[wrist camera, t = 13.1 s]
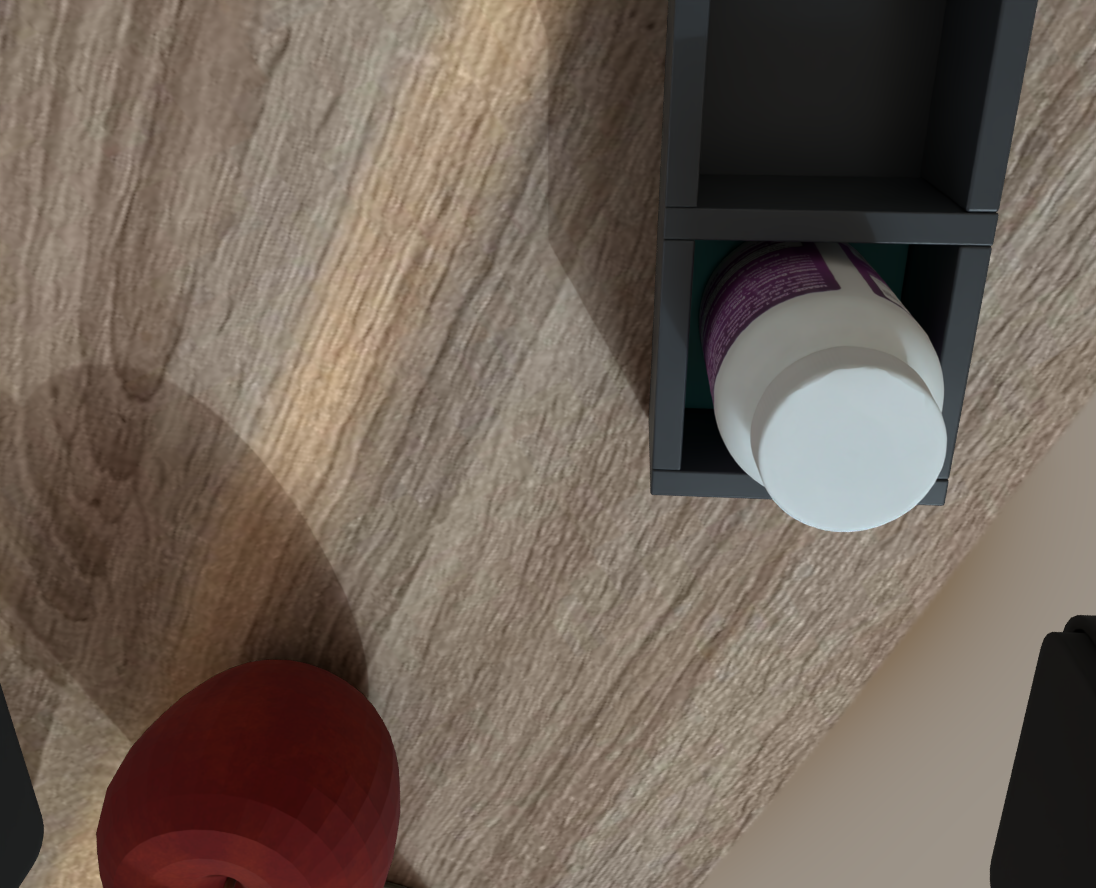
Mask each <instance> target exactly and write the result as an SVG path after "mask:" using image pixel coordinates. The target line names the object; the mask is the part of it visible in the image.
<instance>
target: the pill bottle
mask: <svg viewBox="0 0 1096 888" xmlns="http://www.w3.org/2000/svg"><path fill="white" fill-rule="evenodd" d="M699 333H700V340H701V346H702V351H703V356H704V360H705V365H706V370H707V375H708V380H709V385H710V392H711V396H712V400H713V406H714V413H715V418H716V422H717V426H718V429H719V432H720V434H721V437H722V439H723V441H724V443H725V445H726V447H727V449H728V451H729V452H730V454H731V455H732V457H733V458H734V460H735V461H736V462H737V464H738V465H739V466H740V467H741V468H742V469H743V470H744V471H745V472H746V473H747V474H748V475H749V476H750V477H752V478H753V479H754V480H755V481H757V482H758V483H759V484H761V485H762V486H764V487H765V488H766V490H767V492H768V493H769V495H770V496H771V498H772V499H773V500H774V501H775V502H776V504H777V505H778V506H779V507H780V508H781V509H782V510H783V511H785V512H786V513H787V514H788V515H790V516H791V517H793V518H794V519H796V520H798V521H800V522H802V523H804V524H807V525H809V526H812V527H815V528H818V529H823V530H826V531H835V532H853V531H862V530H867V529H871V528H874V527H877V526H881V525H883V524H886V523H888V522H890V521H892V520H895V519H897V518H898V517H900V516H902V515H903V514H905V513H906V512H908V511H909V510H911V509H912V508H913V507H914V506H915V505H917V504H918V503H919V502H920V501H921V500H922V499H923V498H924V496H925V495H926V494H927V493H928V492H929V490H930V489H931V487H932V486H933V485H934V483H935V481H936V479H937V477H938V475H939V473H940V471H941V469H942V467H943V464H944V460H945V456H946V448H947V434H946V427H945V423H944V419H943V416H942V408H943V399H944V382H943V374H942V369H941V365H940V362H939V359H938V356H937V354H936V351H935V349H934V347H933V345H932V343H931V341H930V339H929V337H928V335H927V334H926V332H925V331H924V330H923V329H922V327H921V326H920V325H919V324H918V323H917V322H916V320H915V319H914V318H913V317H912V315H911V314H910V313H909V312H908V310H907V309H906V308H905V307H904V305H903V304H902V303H901V302H900V300H899V299H898V298H897V297H896V295H895V294H894V293H893V291H892V290H891V289H890V288H889V286H888V285H887V284H886V282H885V281H884V280H883V279H882V278H881V277H880V276H879V274H878V273H877V272H876V271H875V270H874V269H873V267H872V266H871V265H870V264H869V263H868V262H867V261H866V260H865V258H864V257H863V256H862V255H861V254H860V253H859V252H858V251H857V250H856V249H855V248H853V247H852V246H851V245H850V244H848V243H830V242H780V241H746V242H744V243H743V244H741V245H740V246H739V247H737V248H736V249H735V250H733V251H732V252H731V253H730V254H729V255H728V256H727V257H726V258H724V259H723V261H722V262H721V263H720V264H719V265H718V267H717V268H716V269H715V270H714V272H713V273H712V275H711V277H710V279H709V281H708V283H707V285H706V287H705V290H704V293H703V296H702V300H701V304H700V311H699Z"/></svg>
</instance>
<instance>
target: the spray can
mask: <svg viewBox="0 0 1096 888" xmlns="http://www.w3.org/2000/svg"><path fill="white" fill-rule="evenodd" d="M383 888H406V887H403V886H400V885H396V884H393V883H389V882H385V884H384V887H383Z"/></svg>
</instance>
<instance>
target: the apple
mask: <svg viewBox="0 0 1096 888" xmlns="http://www.w3.org/2000/svg"><path fill="white" fill-rule="evenodd" d="M399 817H400V782H399V767H398V762H397V757H396V752H395V749H394V746H393V743H392V739H391V736H390V733H389V731H388V730H387V728H386V726H385V724H384V722H383V720H382V719H381V717H380V715H379V714H378V712H377V711H376V709H375V707H374V706H373V705H372V704H371V703H370V702H369V701H368V700H367V699H366V697H365V696H364V695H363V694H362V693H361V692H360V691H358V690H357V689H356V688H354V687H353V686H352V685H350V684H349V683H348V682H347V681H345V680H343V679H341V678H340V677H338V676H336V675H334V674H332V673H330V672H329V671H327V670H324V669H321V668H319V667H316V666H313V665H311V664H307V663H302V662H297V661H292V660H261V661H254V662H247V663H245V664H242V665H239V666H236V667H233V668H230V669H228V670H226V671H224V672H221V673H219V674H217V675H215V676H213V677H212V678H210V679H208V680H207V681H205V682H204V683H202V684H200V685H199V686H197V687H196V688H194V689H193V690H191V691H190V692H189V693H187V694H186V695H184V696H183V697H181V698H180V699H179V700H178V701H177V702H176V703H175V704H173V705H172V706H171V707H170V708H169V709H168V710H167V711H166V712H164V713H163V714H162V715H161V716H160V717H159V718H158V719H157V720H156V721H155V722H154V723H153V724H152V725H151V726H150V727H149V728H148V729H147V730H146V731H145V732H144V734H143V735H142V736H141V737H140V738H139V739H138V740H137V742H136V743H135V744H134V745H133V746H132V747H131V749H130V750H129V752H128V754H127V755H126V757H125V759H124V760H123V762H122V764H121V765H120V767H119V769H118V771H117V772H116V774H115V776H114V777H113V779H112V781H111V783H110V784H109V786H108V788H107V791H106V795H105V799H104V803H103V807H102V811H101V815H100V820H99V824H98V828H97V832H96V838H97V855H98V863H99V871H100V877H101V881H102V884H103V888H383V887H384V884H385V881H386V878H387V875H388V872H389V869H390V866H391V863H392V859H393V855H394V849H395V844H396V839H397V832H398V825H399Z"/></svg>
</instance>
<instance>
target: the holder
mask: <svg viewBox="0 0 1096 888" xmlns="http://www.w3.org/2000/svg"><path fill="white" fill-rule="evenodd" d="M1037 2H1038V0H668V17H667V39H666V60H665V82H664V103H663V124H662V146H661V167H660V189H659V210H658V232H657V253H656V274H655V296H654V317H653V339H652V360H651V381H650V403H649V453H650V492H651V494H652V495H671V496H697V497H724V498H751V499H772V498H771V496H770V495H769V493H768V492H767V490H766V488H765V487H764V486H762V485H761V484H759V483H758V482H757V481H755V480H754V479H753V478H752V477H750V476H749V475H748V474H747V473H746V472H745V471H744V470H743V469H742V468H741V467H740V466H739V465H738V464H737V462H736V461H735V460H734V458H733V457H732V455H731V454H730V452H729V451H728V449H727V447H726V445H725V443H724V441H723V439H722V437H721V434H720V432H719V429H718V426H717V422H716V418H715V413H714V406H713V400H712V396H711V392H710V385H709V380H708V375H707V370H706V365H705V360H704V356H703V351H702V346H701V340H700V333H699V311H700V304H701V300H702V296H703V293H704V290H705V287H706V285H707V283H708V281H709V279H710V277H711V275H712V273H713V272H714V270H715V269H716V268H717V267H718V265H719V264H720V263H721V262H722V261H723V259H724V258H726V257H727V256H728V255H729V254H730V253H731V252H732V251H733V250H735V249H736V248H737V247H739V246H740V245H741V244H743V243H744V242H746V241H780V242H830V243H848V244H850V245H851V246H852V247H853V248H855V249H856V250H857V251H858V252H859V253H860V254H861V255H862V256H863V257H864V258H865V260H866V261H867V262H868V263H869V264H870V265H871V266H872V267H873V269H874V270H875V271H876V272H877V273H878V274H879V276H880V277H881V278H882V279H883V280H884V281H885V282H886V284H887V285H888V286H889V288H890V289H891V290H892V291H893V293H894V294H895V295H896V297H897V298H898V299H899V300H900V302H901V303H902V304H903V305H904V307H905V308H906V309H907V310H908V312H909V313H910V314H911V315H912V317H913V318H914V319H915V320H916V322H917V323H918V324H919V325H920V326H921V327H922V329H923V330H924V331H925V332H926V334H927V335H928V337H929V339H930V341H931V343H932V345H933V347H934V349H935V351H936V354H937V356H938V359H939V362H940V365H941V369H942V374H943V382H944V399H943V408H942V416H943V419H944V423H945V427H946V434H947V448H946V456H945V460H944V464H943V467H942V469H941V471H940V473H939V475H938V477H937V479H936V481H935V483H934V485H933V486H932V487H931V489H930V490H929V492H928V493H927V494H926V495H925V496H924V498H923V499H922V500H921V501H920V502H919V503H918V504H917V505H937V506H943V505H944V503H945V498H946V493H947V487H948V478H949V475H950V470H951V464H952V459H953V454H954V448H955V443H956V438H957V432H958V427H959V422H960V416H961V411H962V405H963V400H964V395H965V389H966V384H967V379H968V373H969V368H970V363H971V357H972V352H973V346H974V341H975V336H976V330H977V325H978V320H979V314H980V309H981V304H982V298H983V293H984V287H985V282H986V277H987V271H988V266H989V261H990V255H991V250H992V249H991V245H993V242H994V236H995V231H996V226H997V220H998V213H996V212H997V211H998V210H999V206H1000V201H1001V195H1002V190H1003V185H1004V179H1005V174H1006V169H1007V163H1008V158H1009V153H1010V147H1011V142H1012V136H1013V131H1014V126H1015V120H1016V115H1017V110H1018V104H1019V99H1020V94H1021V88H1022V83H1023V77H1024V72H1025V67H1026V61H1027V56H1028V51H1029V45H1030V40H1031V35H1032V29H1033V24H1034V18H1035V13H1036V8H1037Z"/></svg>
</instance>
